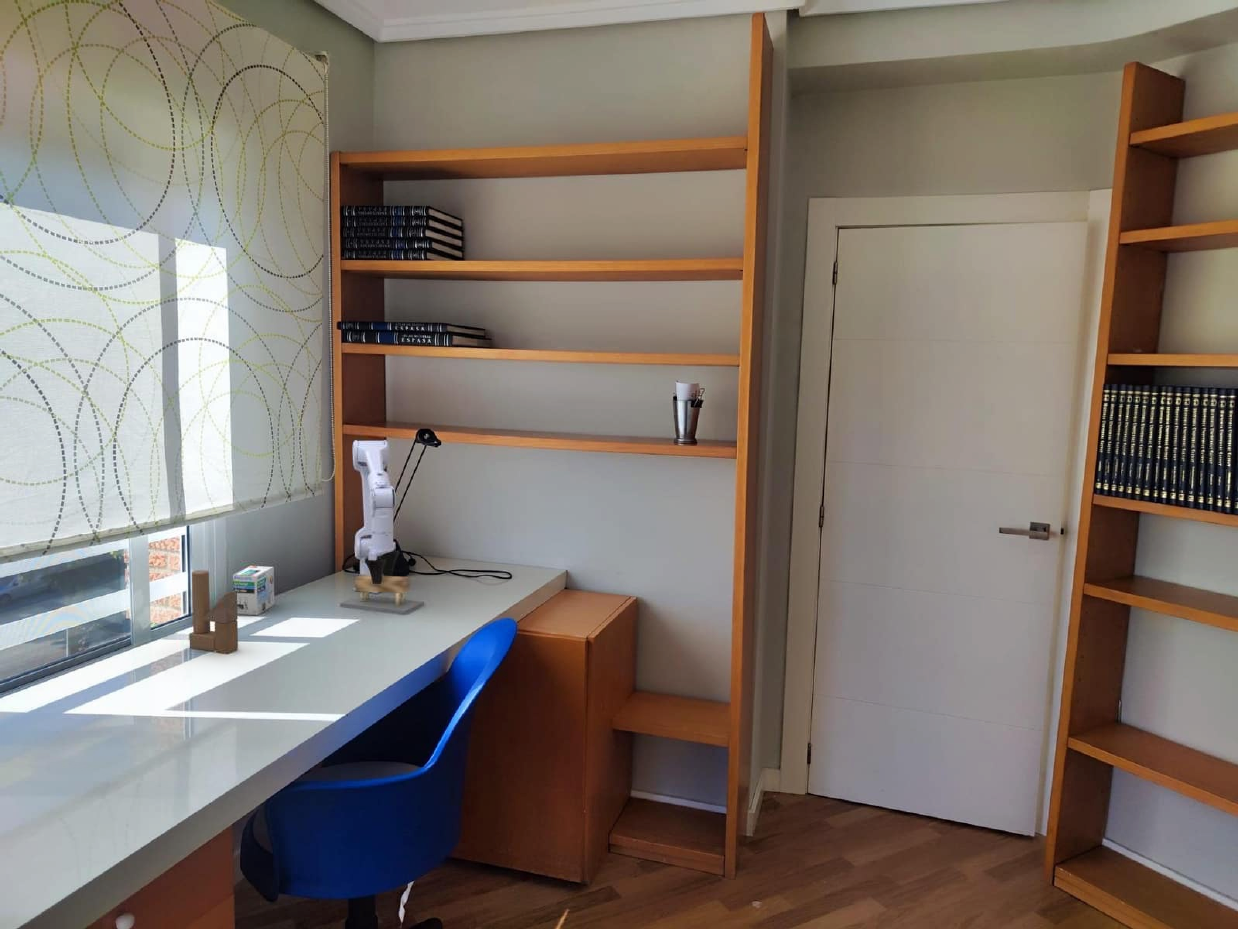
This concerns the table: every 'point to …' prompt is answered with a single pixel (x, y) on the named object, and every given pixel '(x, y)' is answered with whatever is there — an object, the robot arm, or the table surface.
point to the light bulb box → (254, 589)
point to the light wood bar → (383, 584)
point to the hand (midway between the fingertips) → (382, 580)
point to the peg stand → (382, 603)
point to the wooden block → (213, 617)
